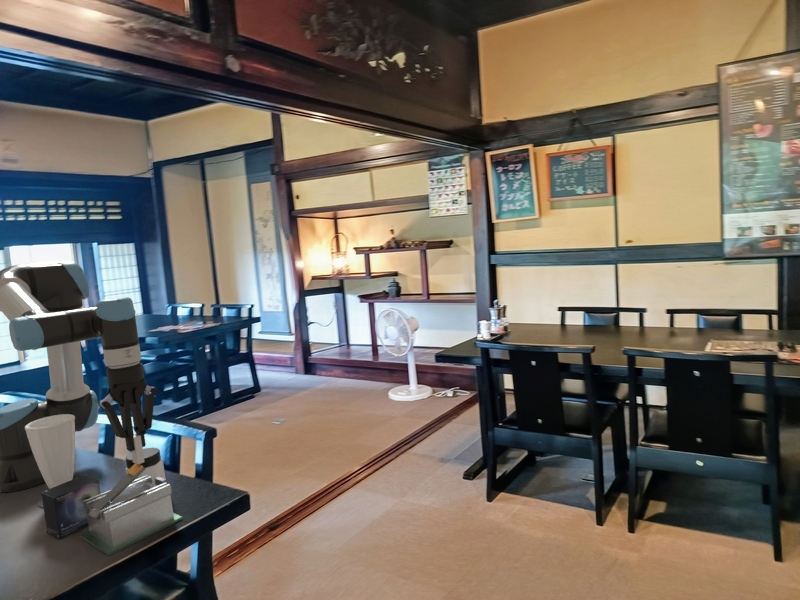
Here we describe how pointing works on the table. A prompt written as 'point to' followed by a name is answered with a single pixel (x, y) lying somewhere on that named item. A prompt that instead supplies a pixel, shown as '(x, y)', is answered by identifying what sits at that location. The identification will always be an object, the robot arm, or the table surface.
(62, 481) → the cup
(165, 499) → the heatsink
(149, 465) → the jar
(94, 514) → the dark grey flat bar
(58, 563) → the table surface
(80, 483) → the small box
